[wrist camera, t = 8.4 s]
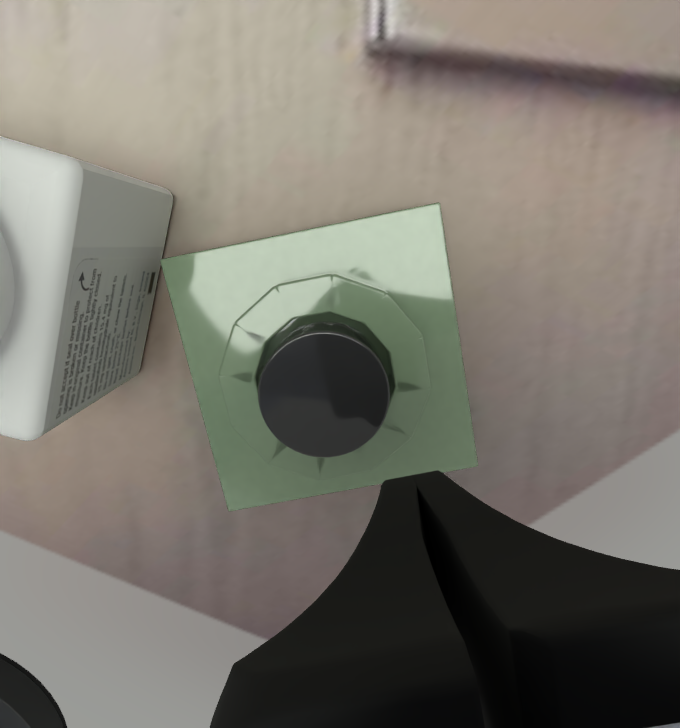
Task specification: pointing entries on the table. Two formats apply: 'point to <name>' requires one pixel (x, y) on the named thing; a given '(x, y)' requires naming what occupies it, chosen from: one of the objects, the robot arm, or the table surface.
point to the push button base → (337, 304)
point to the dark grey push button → (324, 390)
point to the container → (71, 283)
